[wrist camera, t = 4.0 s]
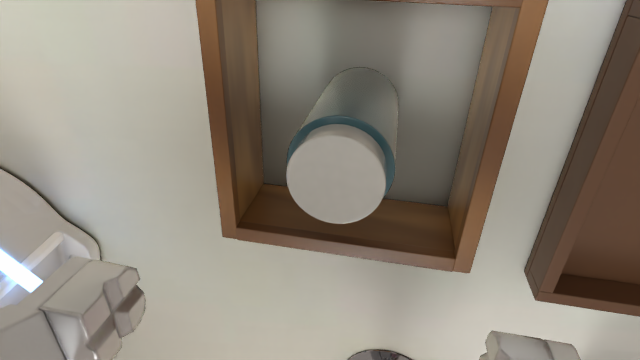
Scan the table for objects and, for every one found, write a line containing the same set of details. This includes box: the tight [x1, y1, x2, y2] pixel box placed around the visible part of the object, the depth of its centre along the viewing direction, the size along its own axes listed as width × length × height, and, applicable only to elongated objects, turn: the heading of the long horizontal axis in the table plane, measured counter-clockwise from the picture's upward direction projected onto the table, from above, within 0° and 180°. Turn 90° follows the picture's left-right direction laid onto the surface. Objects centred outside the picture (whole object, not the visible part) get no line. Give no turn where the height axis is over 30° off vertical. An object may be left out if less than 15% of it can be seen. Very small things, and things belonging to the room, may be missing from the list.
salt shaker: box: [286, 67, 399, 224], centre depth 19 cm, size 4×4×9 cm
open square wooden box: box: [196, 0, 549, 273], centre depth 20 cm, size 14×14×5 cm
